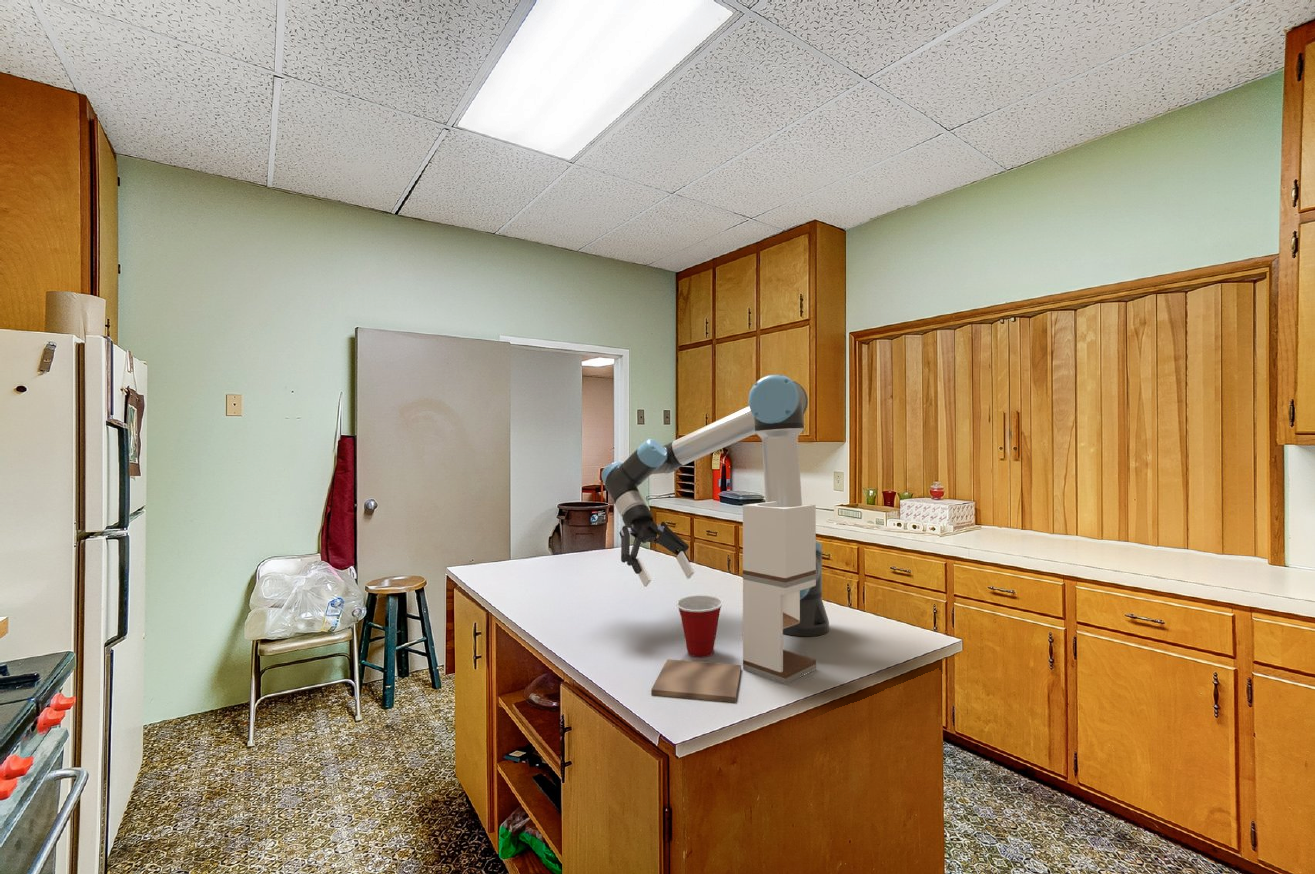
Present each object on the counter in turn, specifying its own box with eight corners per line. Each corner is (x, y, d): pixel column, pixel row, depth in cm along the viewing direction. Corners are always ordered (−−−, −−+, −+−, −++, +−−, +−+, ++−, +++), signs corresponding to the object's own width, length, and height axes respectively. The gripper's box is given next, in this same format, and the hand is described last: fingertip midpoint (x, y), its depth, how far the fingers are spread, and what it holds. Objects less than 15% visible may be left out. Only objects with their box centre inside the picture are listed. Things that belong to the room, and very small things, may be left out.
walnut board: (741, 669, 123) (741, 665, 123) (735, 702, 107) (735, 697, 107) (667, 663, 126) (667, 659, 126) (651, 694, 110) (651, 689, 110)
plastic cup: (666, 653, 133) (666, 600, 133) (697, 641, 140) (697, 592, 140) (701, 665, 125) (701, 610, 125) (732, 653, 133) (732, 600, 133)
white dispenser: (785, 684, 115) (784, 509, 116) (743, 669, 123) (742, 504, 123) (816, 669, 123) (815, 505, 124) (774, 656, 131) (774, 501, 131)
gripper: (664, 517, 163) (700, 580, 151) (588, 525, 148) (621, 596, 135) (676, 500, 159) (714, 563, 147) (599, 505, 143) (635, 577, 131)
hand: (670, 579), depth 141 cm, fingers open, 13 cm apart
